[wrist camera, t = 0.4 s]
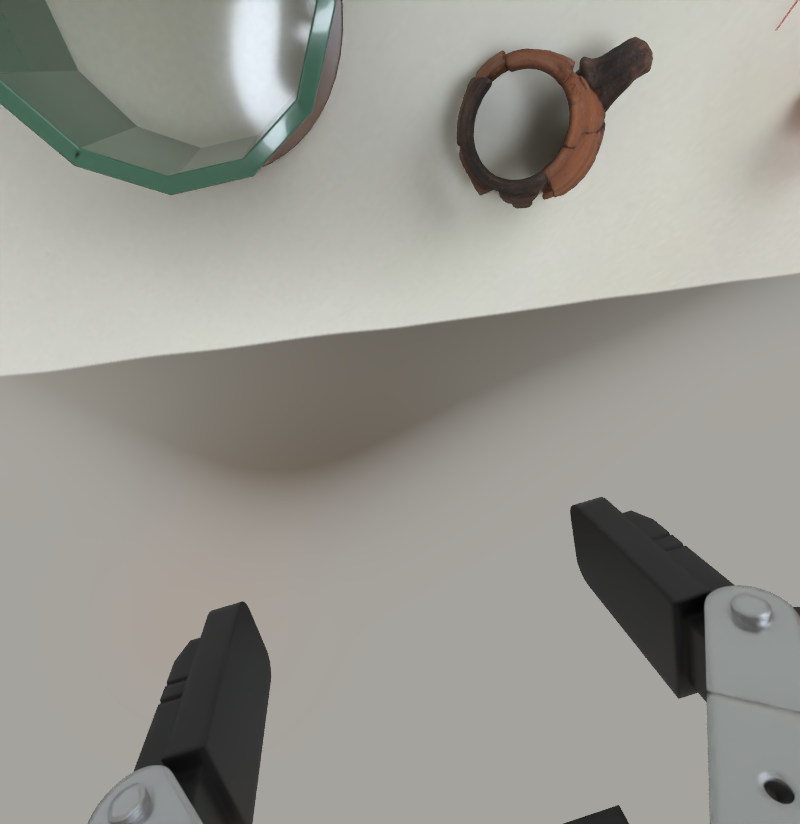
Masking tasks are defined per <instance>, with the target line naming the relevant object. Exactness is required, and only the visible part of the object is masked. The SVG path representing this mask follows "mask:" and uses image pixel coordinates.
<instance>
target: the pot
mask: <svg viewBox="0 0 800 824" xmlns="http://www.w3.org/2000/svg"><path fill="white" fill-rule="evenodd" d="M335 9H336V0H0V104H1V105H3V106H4V107H5V108H6V109H7V110H8V111H10V112H11V113H12V114H13V115H14V116H16V117H17V118H18V119H19V120H20V121H22V122H23V123H24V124H25V125H26V126H28V127H29V128H30V129H31V130H32V131H34V132H35V133H36V134H37V135H38V136H40V137H41V138H42V139H43V140H44V141H45V142H47V143H48V144H49V145H50V146H51V147H53V148H54V149H55V150H56V151H57V152H59V153H60V154H61V155H62V156H63V157H65V158H66V159H67V160H68V161H69V162H71V163H72V164H73V165H75V166H77V167H80V168H83V169H87V170H90V171H93V172H97V173H100V174H103V175H106V176H110V177H113V178H116V179H119V180H123V181H126V182H129V183H133V184H136V185H139V186H142V187H146V188H149V189H152V190H156V191H159V192H162V193H165V194H169V195H174V194H178V193H183V192H187V191H191V190H196V189H200V188H204V187H209V186H213V185H218V184H222V183H226V182H231V181H235V180H239V179H244V178H248V177H253V176H254V175H255V174H256V173H257V172H258V171H259V170H260V169H261V167H262V166H263V165H264V164H265V163H266V162H267V161H268V160H269V159H270V158H271V157H272V156H273V154H274V153H275V152H276V151H277V150H278V149H279V148H280V147H281V146H282V145H283V144H284V142H285V141H286V140H287V139H288V138H289V137H290V136H291V135H292V134H293V133H294V132H295V131H296V129H297V128H298V127H299V126H300V125H301V124H302V123H303V122H304V121H305V120H306V119H307V118H308V116H309V115H310V114H311V113H312V111H313V109H314V104H315V100H316V95H317V91H318V86H319V81H320V77H321V72H322V68H323V63H324V59H325V54H326V50H327V45H328V41H329V36H330V32H331V27H332V23H333V18H334V14H335Z"/></svg>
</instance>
